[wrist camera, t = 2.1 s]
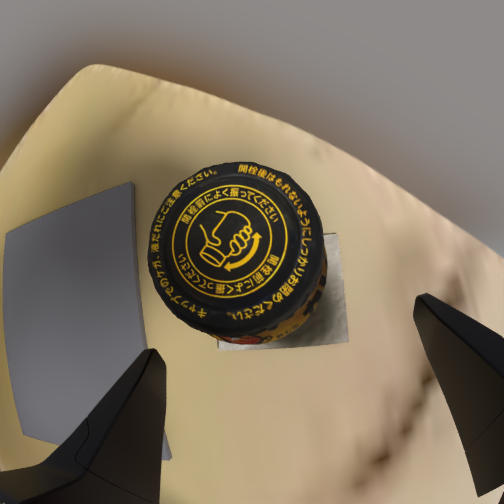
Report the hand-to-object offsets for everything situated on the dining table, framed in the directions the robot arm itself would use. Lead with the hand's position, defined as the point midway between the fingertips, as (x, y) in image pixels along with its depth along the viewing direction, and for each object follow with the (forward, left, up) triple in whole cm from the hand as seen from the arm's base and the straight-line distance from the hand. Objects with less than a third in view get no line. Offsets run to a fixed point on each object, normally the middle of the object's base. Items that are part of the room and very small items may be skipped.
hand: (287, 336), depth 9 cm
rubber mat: (+3, +19, -10) cm, 22 cm away
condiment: (+3, 0, -10) cm, 10 cm away
